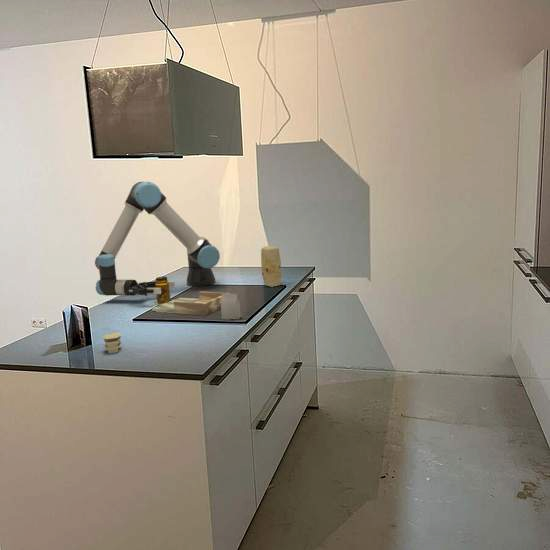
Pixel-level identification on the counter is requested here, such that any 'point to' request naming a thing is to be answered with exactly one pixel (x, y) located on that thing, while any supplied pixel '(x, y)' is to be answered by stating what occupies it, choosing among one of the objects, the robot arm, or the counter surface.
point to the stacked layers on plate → (112, 342)
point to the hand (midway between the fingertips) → (167, 287)
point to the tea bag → (230, 306)
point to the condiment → (162, 290)
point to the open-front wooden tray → (193, 304)
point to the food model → (271, 266)
